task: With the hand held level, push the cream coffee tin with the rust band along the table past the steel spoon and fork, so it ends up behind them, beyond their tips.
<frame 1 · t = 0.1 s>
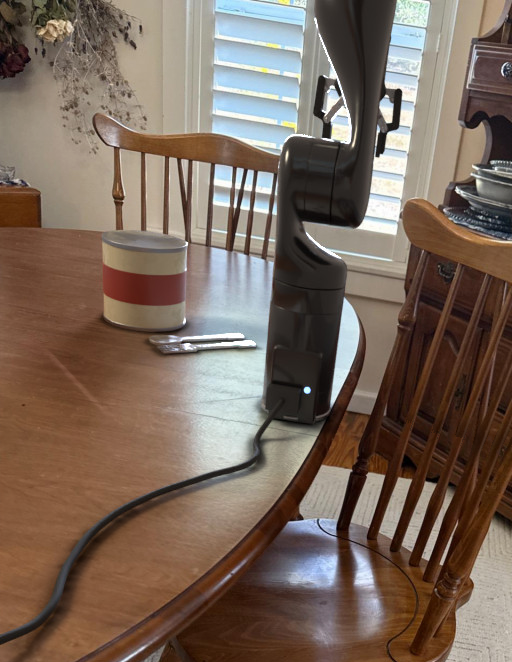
hand: (352, 152, 129), 29 cm above the table, tool pointing down, fingers open, 8 cm apart
fork: (207, 348, 121), on the table
spoon: (196, 340, 124), on the table
coffee tin: (145, 319, 129), on the table
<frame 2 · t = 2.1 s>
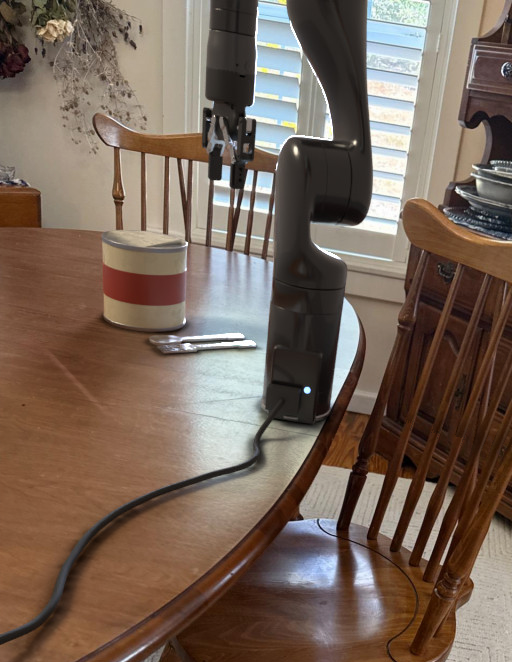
hand: (225, 184, 126), 22 cm above the table, tool pointing down, fingers open, 7 cm apart
nothing on the table moved.
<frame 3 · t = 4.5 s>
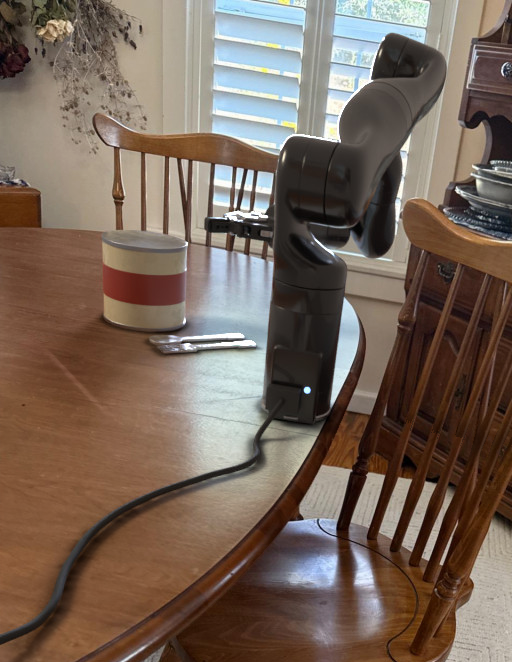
hand: (206, 224, 128), 15 cm above the table, tool horizontal, fingers closed
nothing on the table moved.
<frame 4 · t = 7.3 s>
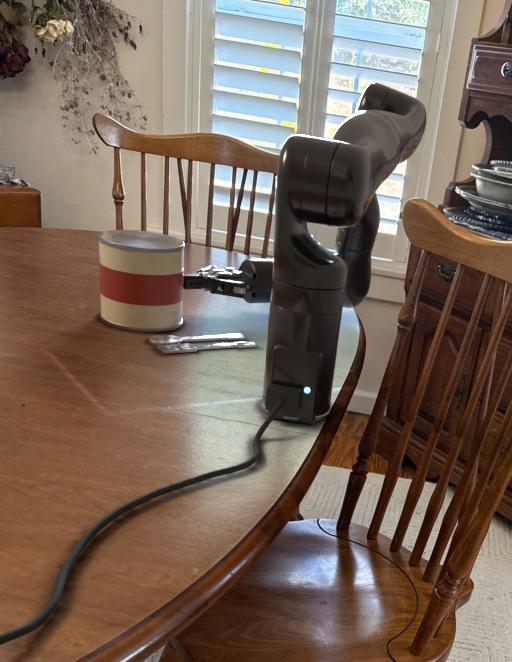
hand: (179, 281, 130), 6 cm above the table, tool horizontal, fingers closed
coffee tin: (142, 319, 129), on the table, touching gripper
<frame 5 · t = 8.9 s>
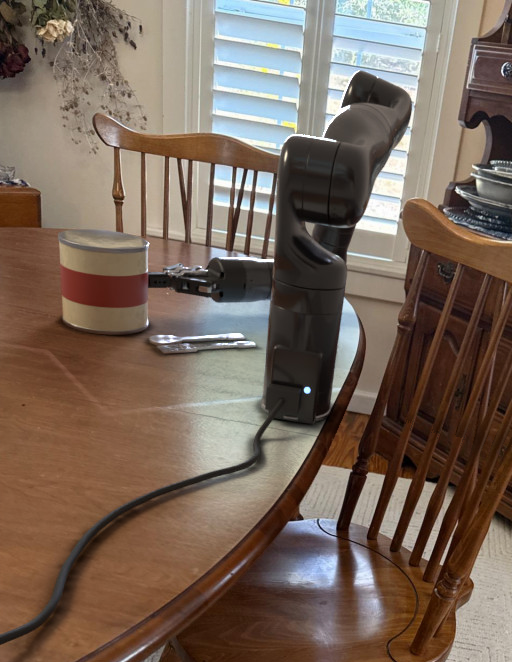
hand: (143, 280, 126), 7 cm above the table, tool horizontal, fingers closed
coffee tin: (106, 322, 125), on the table, touching gripper
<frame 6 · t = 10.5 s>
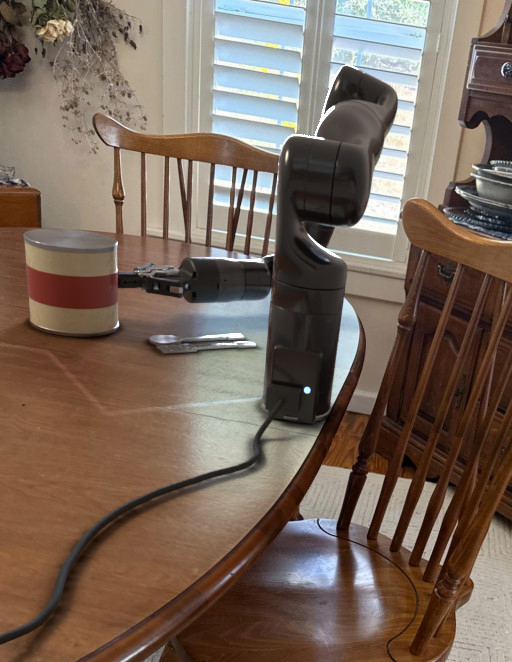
hand: (113, 280, 123), 7 cm above the table, tool horizontal, fingers closed
coffee tin: (75, 323, 122), on the table, touching gripper
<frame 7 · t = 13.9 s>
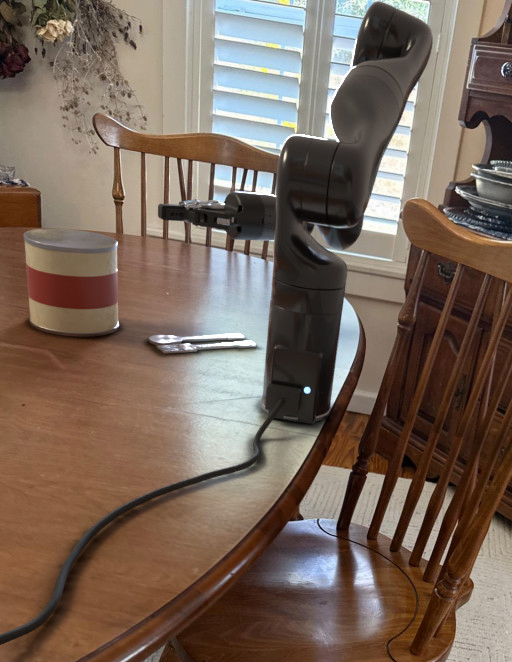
hand: (160, 211, 122), 17 cm above the table, tool horizontal, fingers closed
coffee tin: (75, 323, 122), on the table
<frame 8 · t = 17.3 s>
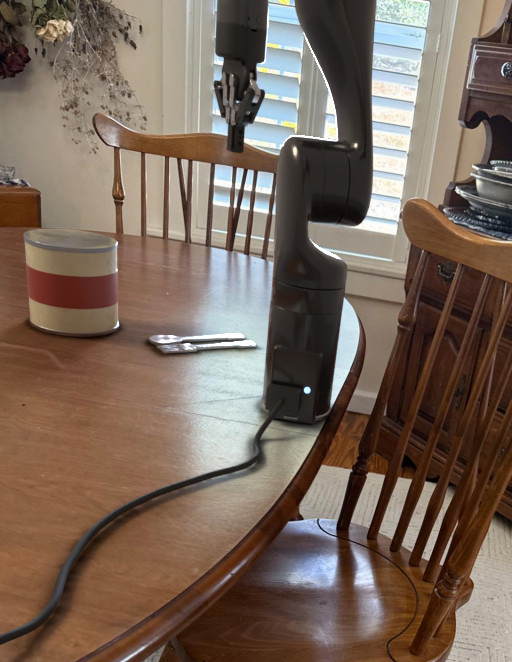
hand: (235, 151, 123), 27 cm above the table, tool pointing down, fingers closed
nothing on the table moved.
at the end: coffee tin inside the target area (0.8 cm from its centre), on the table; coffee tin tilted 0° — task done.
